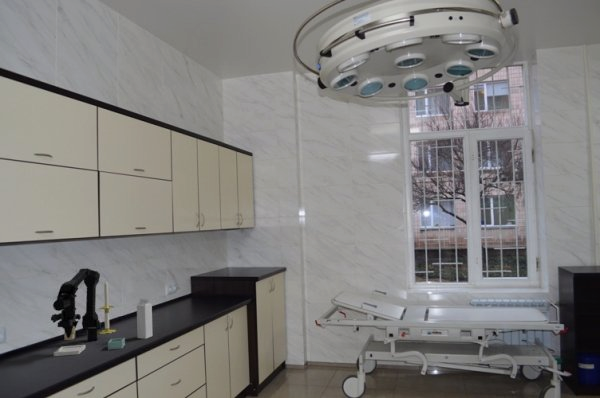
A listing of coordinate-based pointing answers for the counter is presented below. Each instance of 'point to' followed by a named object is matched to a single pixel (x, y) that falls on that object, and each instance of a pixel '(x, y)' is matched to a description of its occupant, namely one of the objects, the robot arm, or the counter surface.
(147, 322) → the milk
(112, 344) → the light blue box
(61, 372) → the counter surface
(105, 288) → the candle
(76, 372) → the counter surface
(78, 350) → the dish
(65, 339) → the beige jar
